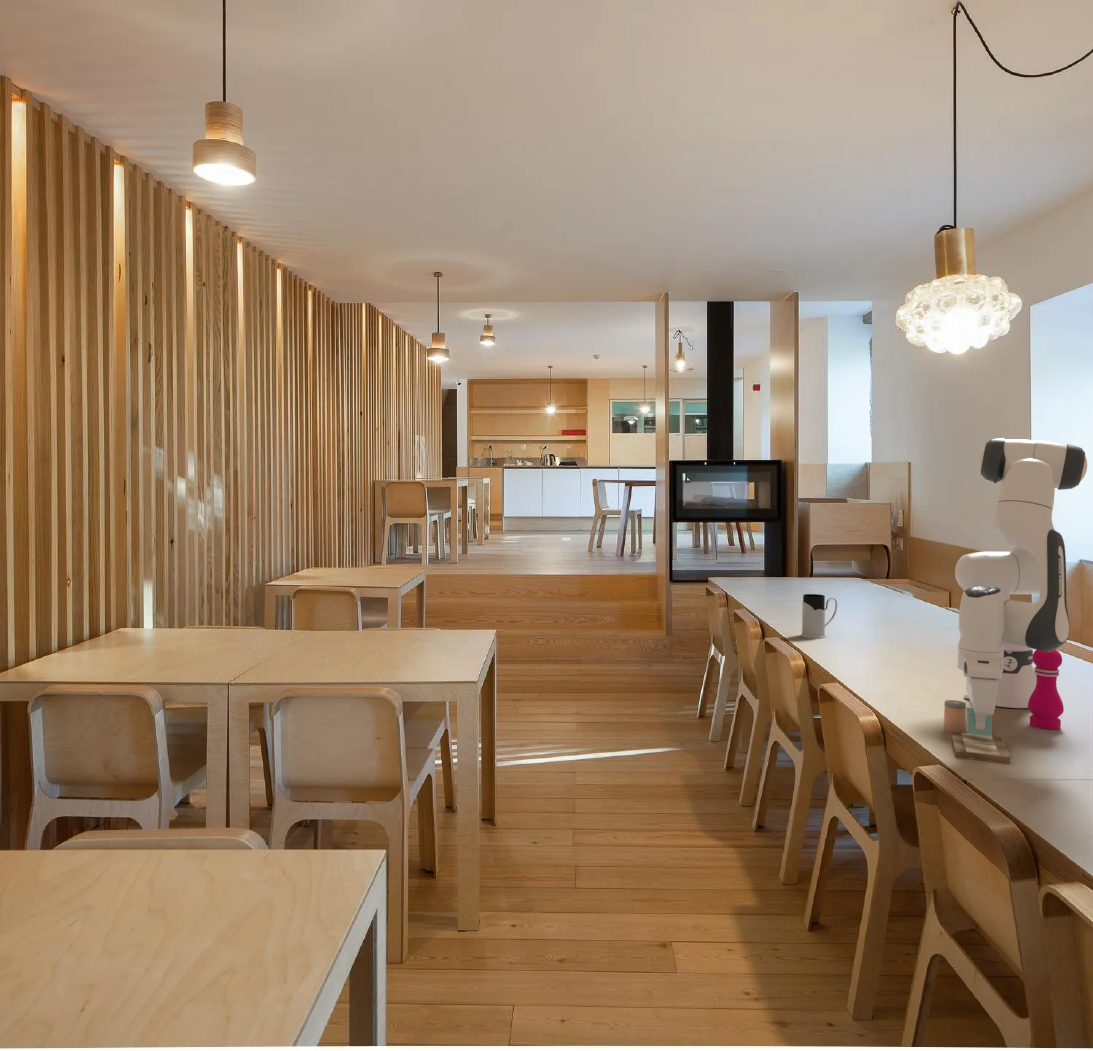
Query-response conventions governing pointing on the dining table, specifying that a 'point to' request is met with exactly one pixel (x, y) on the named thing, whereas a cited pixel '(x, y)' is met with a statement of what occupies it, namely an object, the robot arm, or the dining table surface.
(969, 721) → the teal block
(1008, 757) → the board
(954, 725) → the peach upright cylinder
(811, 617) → the glass holder
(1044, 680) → the pepper mill
